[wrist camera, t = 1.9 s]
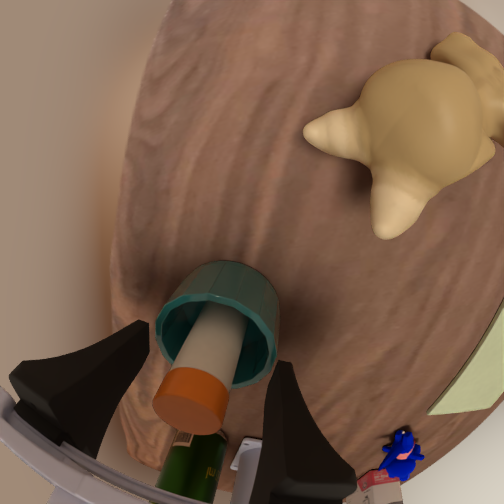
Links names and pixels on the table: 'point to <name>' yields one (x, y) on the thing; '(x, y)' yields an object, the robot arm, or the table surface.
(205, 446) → the beer can
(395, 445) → the figurine
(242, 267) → the cup
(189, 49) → the table surface
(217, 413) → the glue stick
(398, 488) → the ink box
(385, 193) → the tan rounded lobed piece
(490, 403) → the mat
